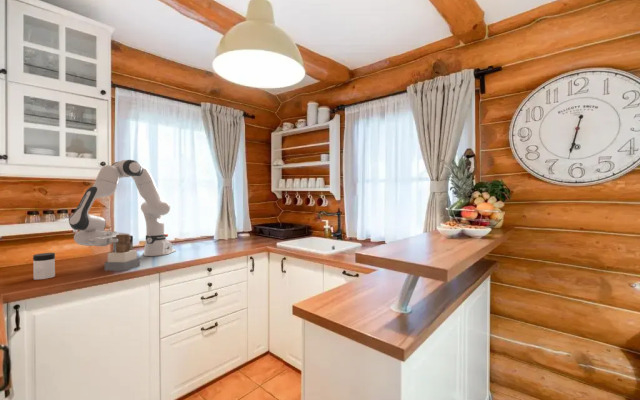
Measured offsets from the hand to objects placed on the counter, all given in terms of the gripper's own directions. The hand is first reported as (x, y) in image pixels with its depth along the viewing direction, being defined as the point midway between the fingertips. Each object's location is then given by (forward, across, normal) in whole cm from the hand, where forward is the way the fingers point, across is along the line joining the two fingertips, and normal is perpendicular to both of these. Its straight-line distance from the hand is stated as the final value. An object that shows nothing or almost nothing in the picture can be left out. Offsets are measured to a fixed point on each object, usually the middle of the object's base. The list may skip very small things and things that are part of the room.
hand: (124, 239), depth 165 cm
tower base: (-1, 0, +17) cm, 17 cm away
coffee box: (-15, +16, +17) cm, 28 cm away
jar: (-26, -22, +17) cm, 38 cm away
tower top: (-2, +1, +12) cm, 13 cm away
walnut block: (-1, 0, +7) cm, 7 cm away
